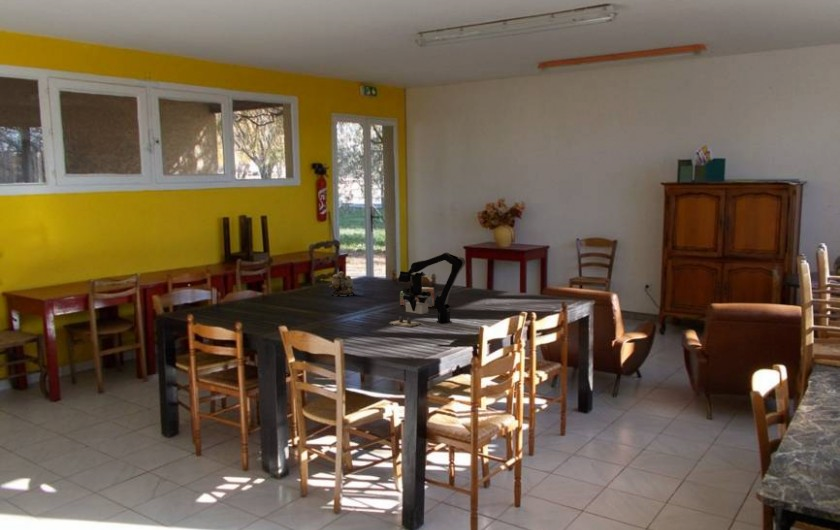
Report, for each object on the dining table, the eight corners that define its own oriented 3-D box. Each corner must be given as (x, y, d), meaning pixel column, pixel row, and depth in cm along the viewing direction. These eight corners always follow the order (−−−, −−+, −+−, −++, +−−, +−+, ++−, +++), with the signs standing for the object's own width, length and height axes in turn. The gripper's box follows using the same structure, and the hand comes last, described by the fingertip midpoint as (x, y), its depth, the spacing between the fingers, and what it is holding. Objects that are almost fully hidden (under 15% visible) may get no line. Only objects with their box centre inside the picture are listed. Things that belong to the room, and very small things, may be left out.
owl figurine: (330, 297, 493) (329, 273, 491) (328, 294, 505) (327, 271, 503) (356, 296, 498) (355, 271, 496) (353, 293, 509) (352, 269, 507)
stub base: (420, 324, 401) (420, 317, 400) (409, 327, 393) (409, 320, 393) (400, 321, 410) (400, 314, 410) (389, 324, 403) (389, 317, 402)
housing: (428, 312, 409) (428, 303, 409) (421, 314, 405) (421, 305, 404) (412, 309, 417) (412, 301, 416) (405, 311, 413) (405, 303, 412)
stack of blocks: (399, 306, 458) (399, 287, 456) (402, 304, 464) (402, 286, 462) (431, 307, 452) (431, 288, 451) (434, 306, 458) (434, 287, 457)
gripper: (416, 280, 421) (416, 306, 423) (395, 284, 407) (395, 310, 409) (431, 282, 414) (431, 308, 416) (410, 285, 400) (410, 313, 402)
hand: (417, 310), depth 411 cm, fingers closed on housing, 6 cm apart
